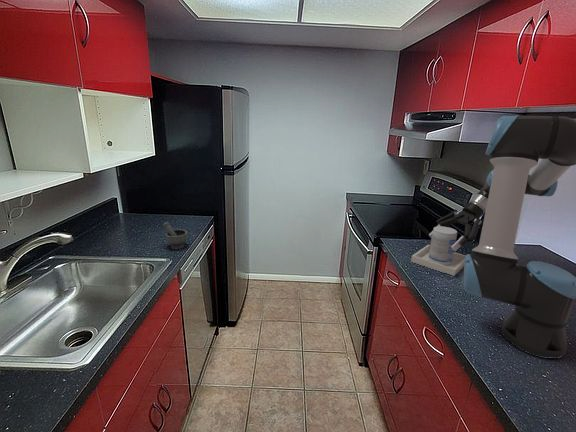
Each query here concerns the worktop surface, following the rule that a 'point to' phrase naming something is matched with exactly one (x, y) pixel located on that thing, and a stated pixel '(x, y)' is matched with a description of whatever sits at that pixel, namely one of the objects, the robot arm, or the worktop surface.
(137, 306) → the worktop surface
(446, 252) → the supplement tub
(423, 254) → the tray
